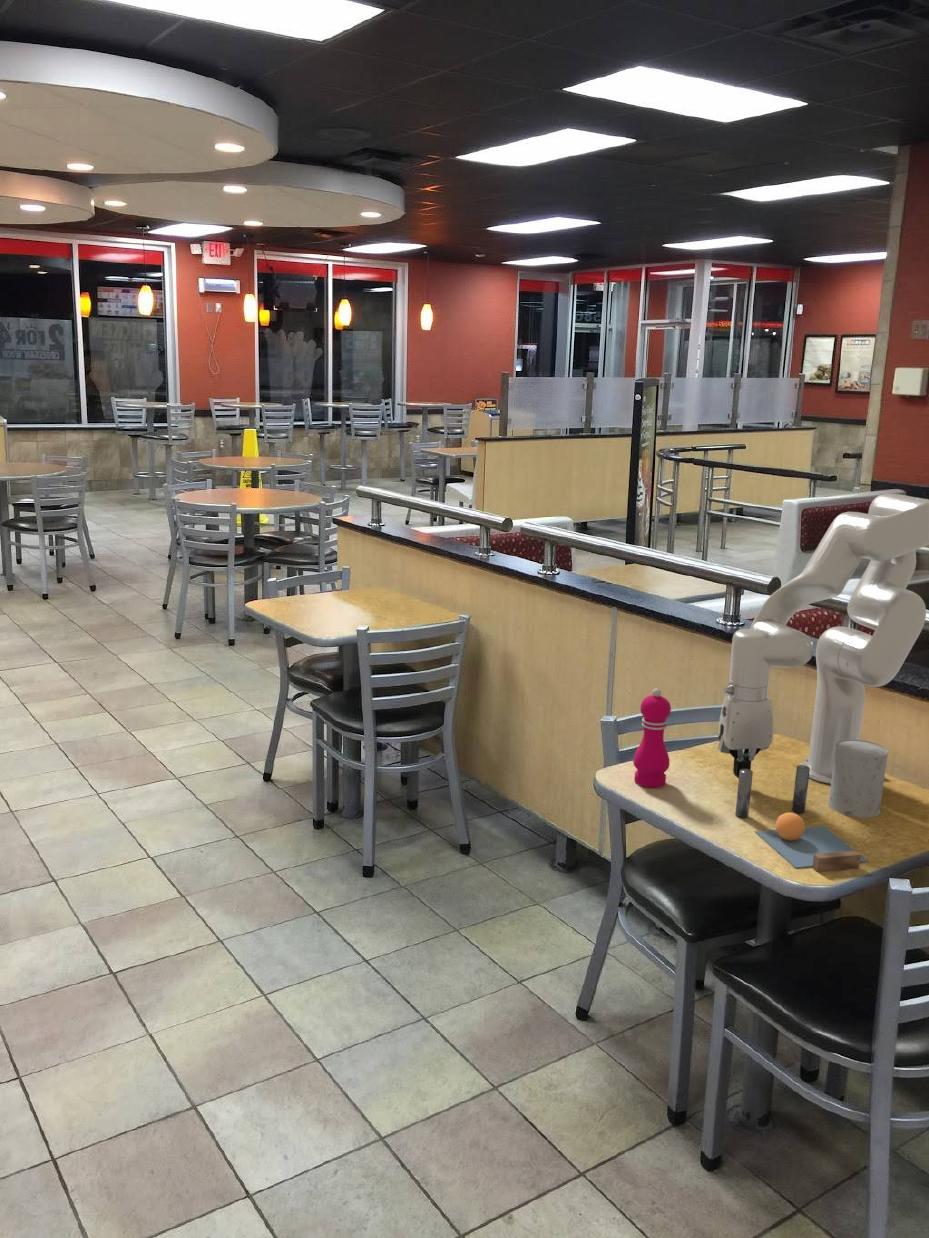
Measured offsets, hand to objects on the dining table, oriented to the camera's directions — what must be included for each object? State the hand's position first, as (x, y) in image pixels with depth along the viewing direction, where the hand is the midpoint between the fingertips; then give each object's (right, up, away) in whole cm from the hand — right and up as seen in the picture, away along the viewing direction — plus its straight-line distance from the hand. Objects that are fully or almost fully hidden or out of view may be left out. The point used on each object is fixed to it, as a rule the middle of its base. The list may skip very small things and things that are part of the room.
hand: (741, 777), depth 206 cm
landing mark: (+5, -8, -25) cm, 27 cm away
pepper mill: (-18, -1, +1) cm, 18 cm away
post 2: (+8, -5, -11) cm, 14 cm away
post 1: (-4, -5, -13) cm, 15 cm away
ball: (+2, -5, -23) cm, 24 cm away
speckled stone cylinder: (+20, -5, -8) cm, 22 cm away
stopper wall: (+7, -10, -33) cm, 35 cm away
